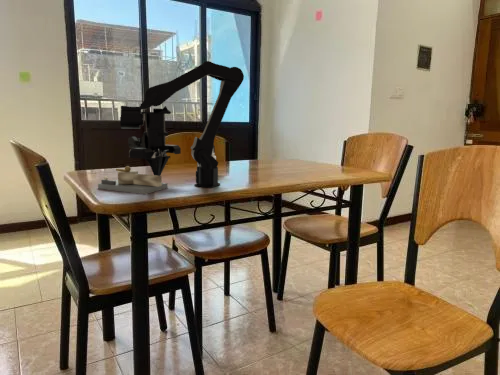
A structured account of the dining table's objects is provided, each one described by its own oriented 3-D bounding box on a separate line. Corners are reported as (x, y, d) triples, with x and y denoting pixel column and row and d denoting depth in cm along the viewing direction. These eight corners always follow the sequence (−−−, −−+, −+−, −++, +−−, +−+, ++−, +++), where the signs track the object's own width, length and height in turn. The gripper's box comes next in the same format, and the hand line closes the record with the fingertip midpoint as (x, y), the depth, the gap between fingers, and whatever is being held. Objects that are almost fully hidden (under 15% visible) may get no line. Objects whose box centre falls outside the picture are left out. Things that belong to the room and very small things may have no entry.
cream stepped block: (165, 184, 116) (165, 167, 115) (153, 187, 111) (152, 170, 110) (124, 180, 123) (123, 164, 122) (110, 183, 118) (109, 166, 117)
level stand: (167, 187, 121) (167, 175, 120) (144, 194, 111) (144, 180, 110) (123, 183, 128) (122, 171, 127) (98, 188, 118) (97, 176, 117)
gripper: (153, 127, 130) (155, 172, 133) (113, 128, 113) (116, 180, 116) (181, 128, 125) (182, 175, 128) (143, 129, 109) (145, 183, 111)
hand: (157, 178), depth 121 cm, fingers closed
